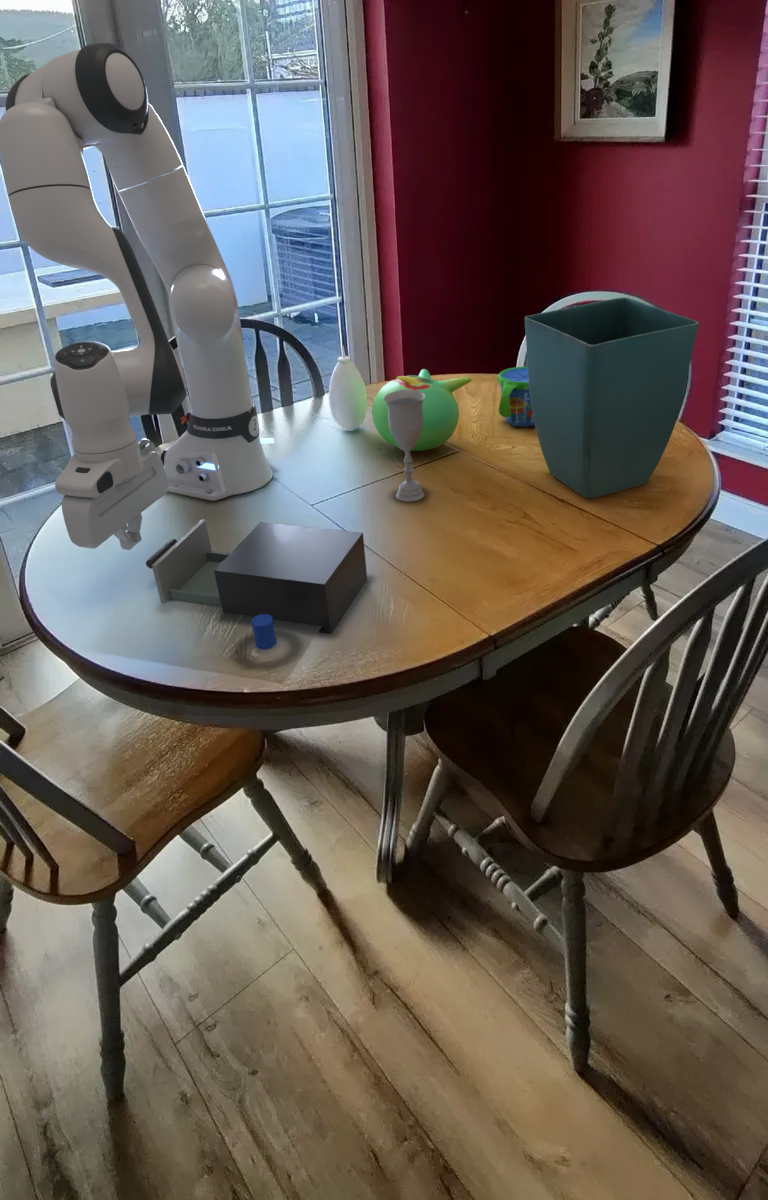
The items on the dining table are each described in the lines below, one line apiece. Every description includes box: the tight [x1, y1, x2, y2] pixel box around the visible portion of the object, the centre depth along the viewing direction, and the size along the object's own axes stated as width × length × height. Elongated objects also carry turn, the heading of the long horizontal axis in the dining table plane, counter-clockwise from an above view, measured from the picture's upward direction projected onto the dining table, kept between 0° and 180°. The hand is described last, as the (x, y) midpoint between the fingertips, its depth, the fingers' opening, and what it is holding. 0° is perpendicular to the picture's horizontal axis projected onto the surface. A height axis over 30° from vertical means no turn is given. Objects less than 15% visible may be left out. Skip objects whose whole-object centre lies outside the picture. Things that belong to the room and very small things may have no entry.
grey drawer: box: [145, 519, 231, 607], centre depth 123 cm, size 20×14×7 cm
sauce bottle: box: [328, 344, 368, 432], centre depth 171 cm, size 8×8×18 cm
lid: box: [251, 614, 278, 650], centre depth 110 cm, size 8×8×5 cm
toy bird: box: [371, 368, 472, 452], centre depth 162 cm, size 18×17×15 cm
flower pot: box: [524, 297, 700, 500], centre depth 140 cm, size 20×20×28 cm
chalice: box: [384, 390, 425, 502], centre depth 142 cm, size 7×7×18 cm
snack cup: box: [497, 366, 535, 428], centre depth 170 cm, size 16×10×10 cm
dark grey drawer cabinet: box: [214, 521, 368, 635], centre depth 119 cm, size 17×15×8 cm
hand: (131, 545), depth 126 cm, fingers closed
